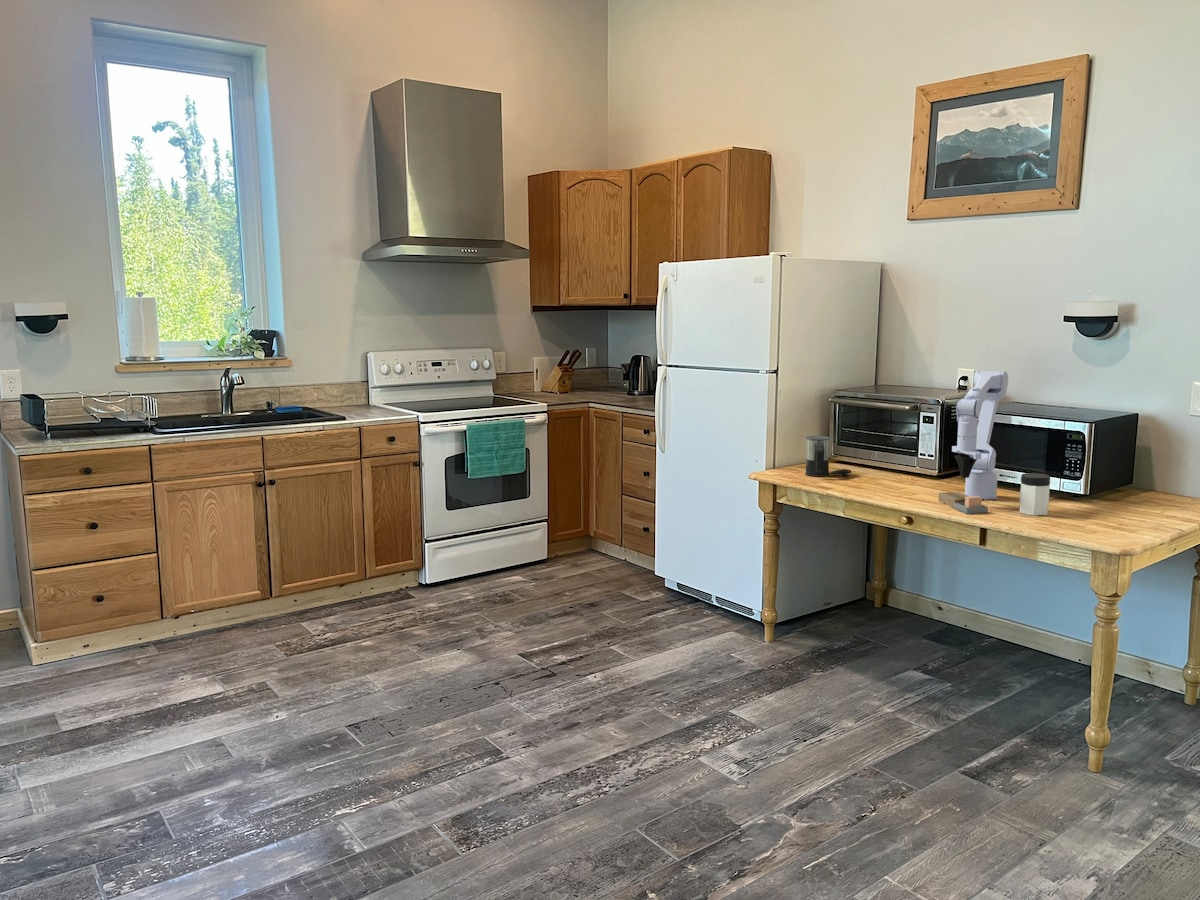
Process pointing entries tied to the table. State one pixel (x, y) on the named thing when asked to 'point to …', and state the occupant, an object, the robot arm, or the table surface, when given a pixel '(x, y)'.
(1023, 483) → the jar
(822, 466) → the milk frother
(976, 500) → the peach flat square block
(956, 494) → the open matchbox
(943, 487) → the table surface
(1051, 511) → the table surface
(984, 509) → the tray
